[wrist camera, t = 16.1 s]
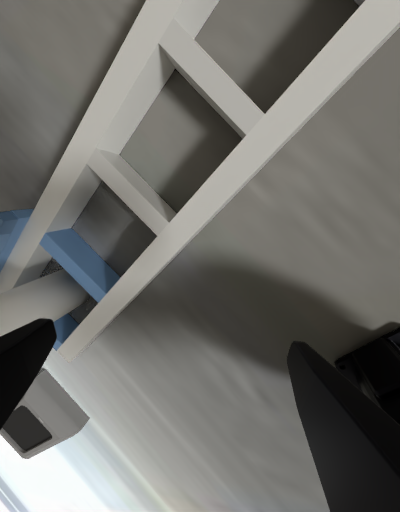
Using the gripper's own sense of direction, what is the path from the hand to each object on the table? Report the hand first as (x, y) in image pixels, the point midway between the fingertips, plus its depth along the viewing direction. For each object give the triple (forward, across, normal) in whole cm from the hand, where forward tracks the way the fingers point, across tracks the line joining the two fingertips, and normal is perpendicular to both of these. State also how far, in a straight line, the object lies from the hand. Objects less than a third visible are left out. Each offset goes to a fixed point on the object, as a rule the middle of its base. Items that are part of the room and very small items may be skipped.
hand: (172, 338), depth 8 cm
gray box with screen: (+14, +21, +31) cm, 41 cm away
